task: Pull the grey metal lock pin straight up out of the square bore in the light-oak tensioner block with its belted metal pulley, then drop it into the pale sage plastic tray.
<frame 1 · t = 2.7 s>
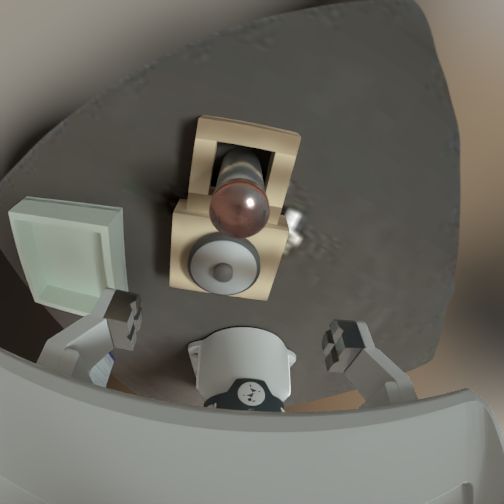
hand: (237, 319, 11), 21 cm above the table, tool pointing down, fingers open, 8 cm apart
supplement box: (97, 349, 47), on the table
tray: (76, 252, 34), on the table
lock pin: (240, 166, 28), resting in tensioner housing
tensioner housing: (240, 166, 28), on the table
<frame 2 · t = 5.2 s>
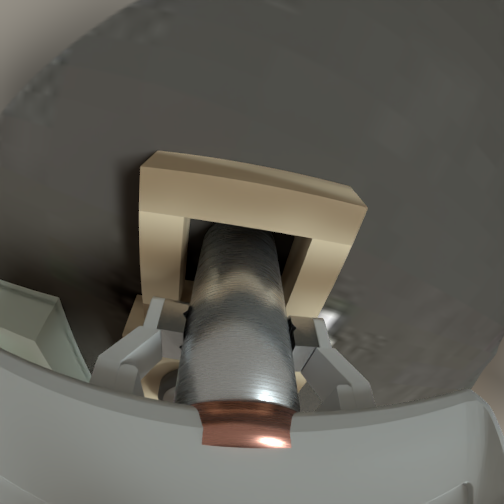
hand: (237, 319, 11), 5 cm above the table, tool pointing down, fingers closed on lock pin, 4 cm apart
tray: (22, 334, 21), on the table
lock pin: (238, 248, 15), resting in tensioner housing, touching gripper
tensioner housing: (238, 248, 15), on the table
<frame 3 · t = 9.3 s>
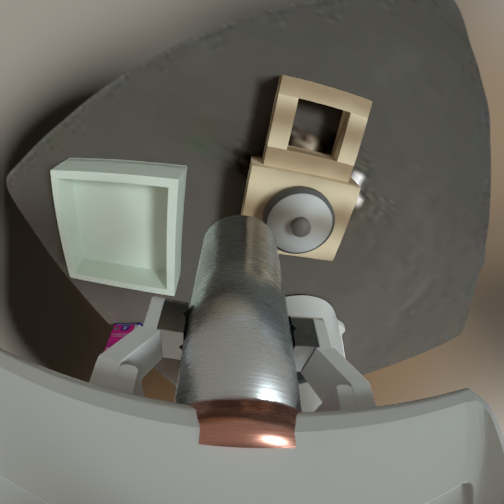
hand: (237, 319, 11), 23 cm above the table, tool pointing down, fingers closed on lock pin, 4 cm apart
supplement box: (133, 331, 47), on the table
tray: (124, 218, 34), on the table
lock pin: (239, 247, 15), point 18 cm above the table, touching gripper
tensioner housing: (313, 126, 28), on the table
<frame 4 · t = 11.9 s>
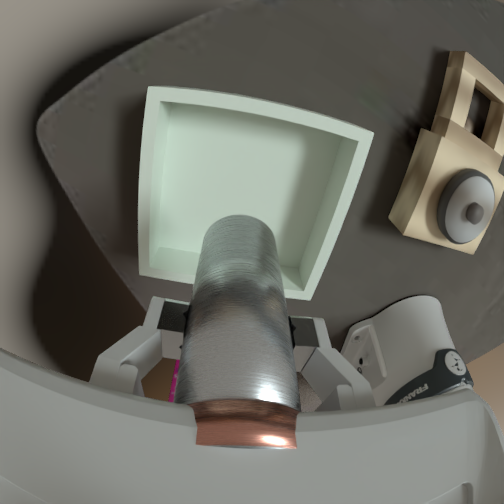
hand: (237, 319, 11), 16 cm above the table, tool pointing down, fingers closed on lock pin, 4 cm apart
tray: (242, 186, 24), on the table
lock pin: (239, 247, 15), point 11 cm above the table, touching gripper
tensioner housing: (471, 110, 19), on the table
when the fingers open (8 cm above the table, at t = 13.8 s): lock pin drops 1 cm, resting on tray.
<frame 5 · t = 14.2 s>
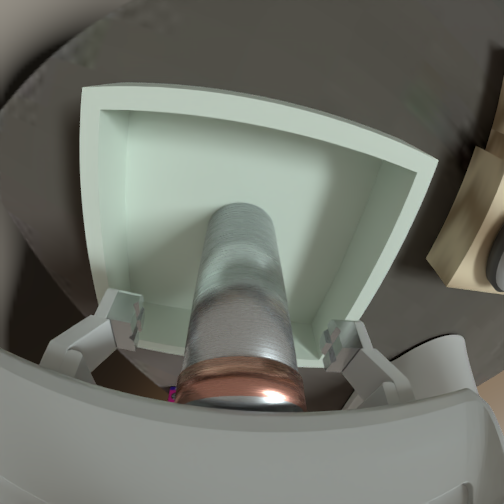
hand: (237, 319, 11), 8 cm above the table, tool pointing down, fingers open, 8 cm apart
tray: (239, 226, 17), on the table
lock pin: (240, 233, 17), point 1 cm above the table, touching tray
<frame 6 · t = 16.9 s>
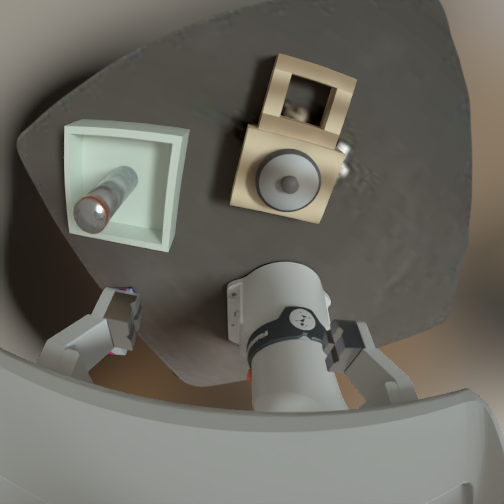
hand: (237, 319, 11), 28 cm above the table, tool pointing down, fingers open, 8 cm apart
tray: (126, 177, 35), on the table
lock pin: (124, 179, 35), point 1 cm above the table, touching tray
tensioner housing: (304, 100, 30), on the table
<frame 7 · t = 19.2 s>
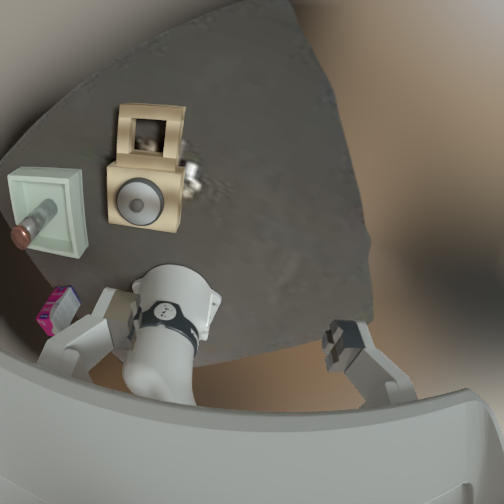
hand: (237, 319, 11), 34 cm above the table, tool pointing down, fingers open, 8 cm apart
supplement box: (68, 293, 57), on the table
tray: (52, 205, 44), on the table
lock pin: (49, 207, 43), point 1 cm above the table, touching tray
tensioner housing: (151, 134, 38), on the table
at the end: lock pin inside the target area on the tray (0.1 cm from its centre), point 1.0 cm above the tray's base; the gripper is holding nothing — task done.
